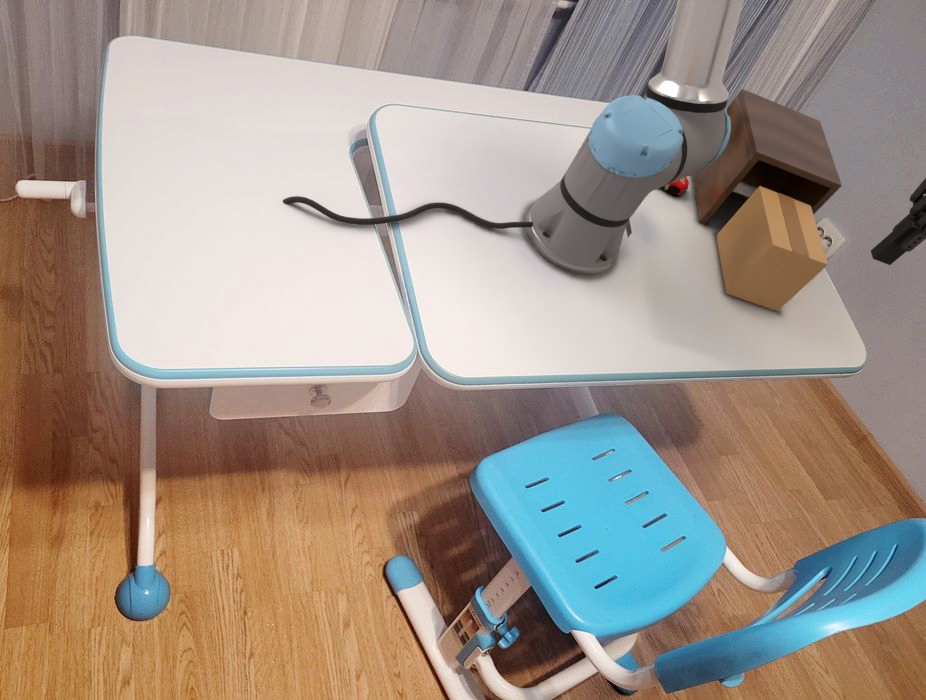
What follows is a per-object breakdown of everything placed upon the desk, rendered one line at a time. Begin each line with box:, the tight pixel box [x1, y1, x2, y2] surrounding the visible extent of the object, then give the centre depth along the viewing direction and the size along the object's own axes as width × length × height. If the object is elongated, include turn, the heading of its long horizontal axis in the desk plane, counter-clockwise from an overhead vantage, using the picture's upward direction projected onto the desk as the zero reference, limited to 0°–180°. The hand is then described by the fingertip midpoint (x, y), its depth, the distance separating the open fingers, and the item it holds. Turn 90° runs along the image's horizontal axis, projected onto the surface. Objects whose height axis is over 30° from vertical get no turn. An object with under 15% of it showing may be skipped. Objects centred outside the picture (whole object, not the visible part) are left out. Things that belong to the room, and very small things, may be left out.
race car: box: [660, 176, 690, 196], centre depth 136 cm, size 13×5×4 cm, turn 74°
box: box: [715, 186, 829, 312], centre depth 125 cm, size 14×10×12 cm
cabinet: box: [691, 88, 843, 225], centre depth 135 cm, size 18×16×16 cm
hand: (880, 257), depth 100 cm, fingers closed
